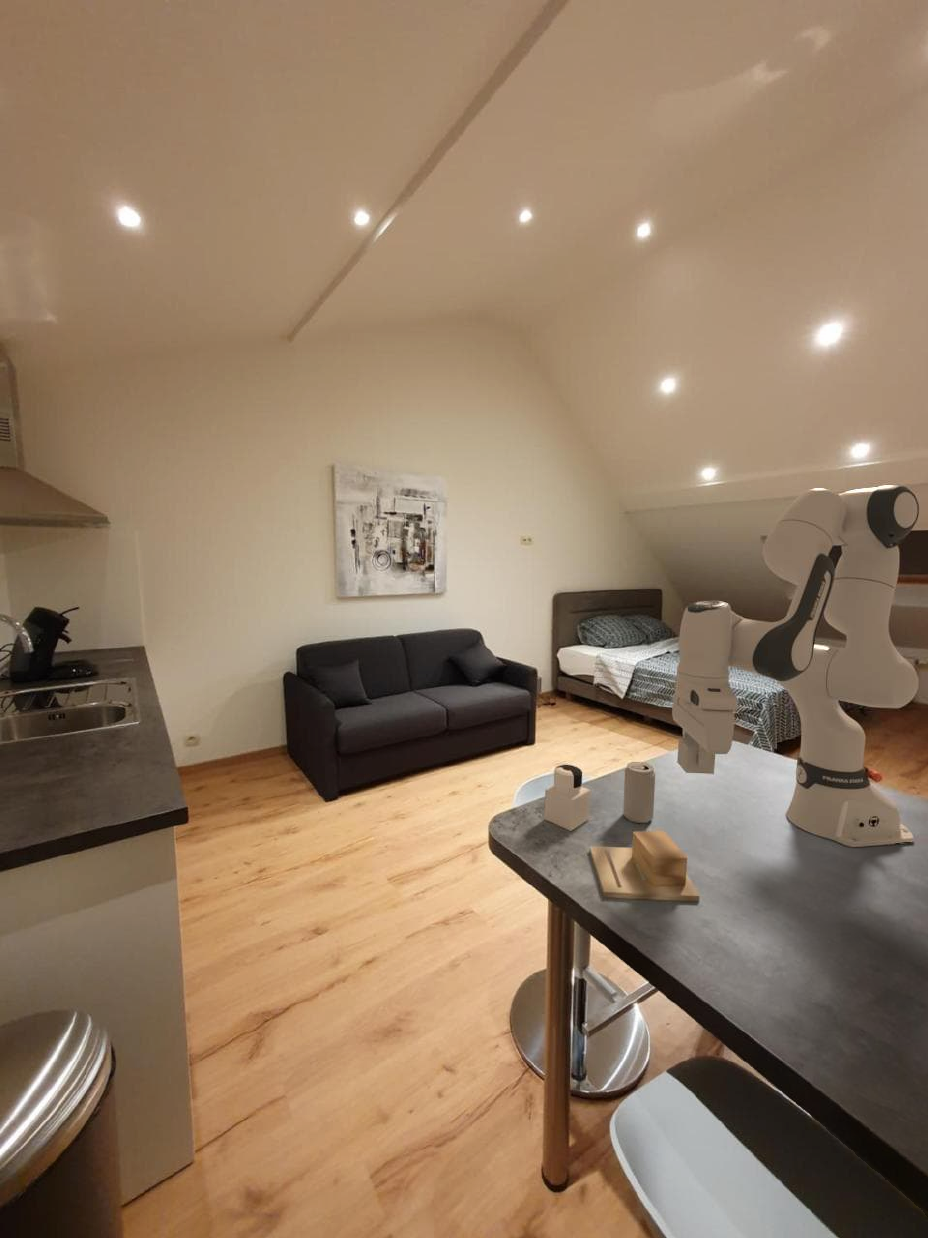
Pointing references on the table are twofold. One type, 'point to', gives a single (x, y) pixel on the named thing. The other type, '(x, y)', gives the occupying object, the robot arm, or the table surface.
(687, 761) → the top cube
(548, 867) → the table surface
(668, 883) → the oak block
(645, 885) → the plate
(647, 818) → the beverage can
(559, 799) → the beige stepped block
